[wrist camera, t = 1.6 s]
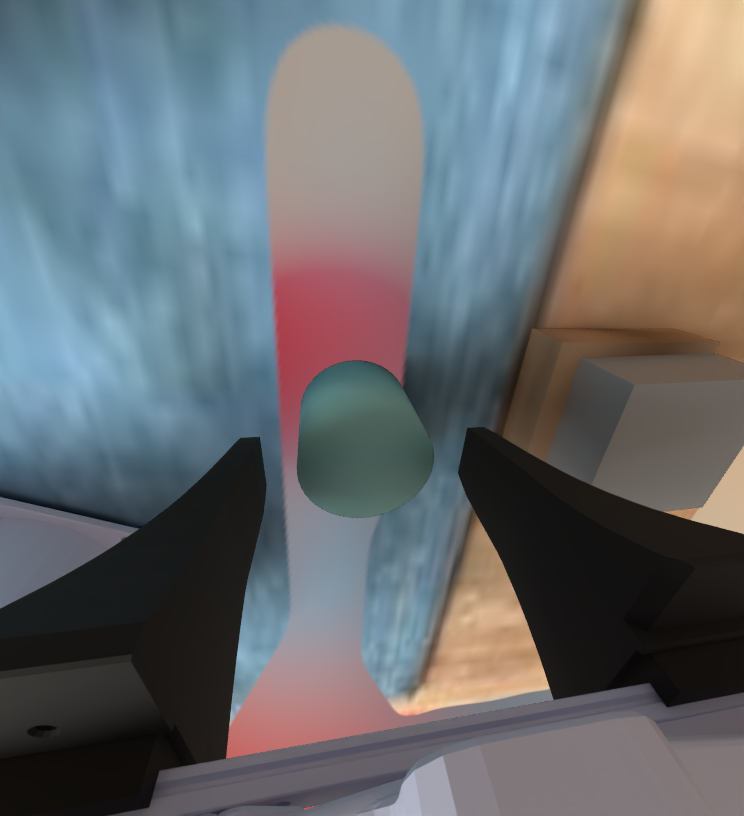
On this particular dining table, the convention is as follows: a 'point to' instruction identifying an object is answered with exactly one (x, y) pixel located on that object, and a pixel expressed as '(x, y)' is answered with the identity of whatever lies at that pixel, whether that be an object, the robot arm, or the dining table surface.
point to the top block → (652, 426)
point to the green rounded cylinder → (360, 442)
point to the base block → (556, 366)
